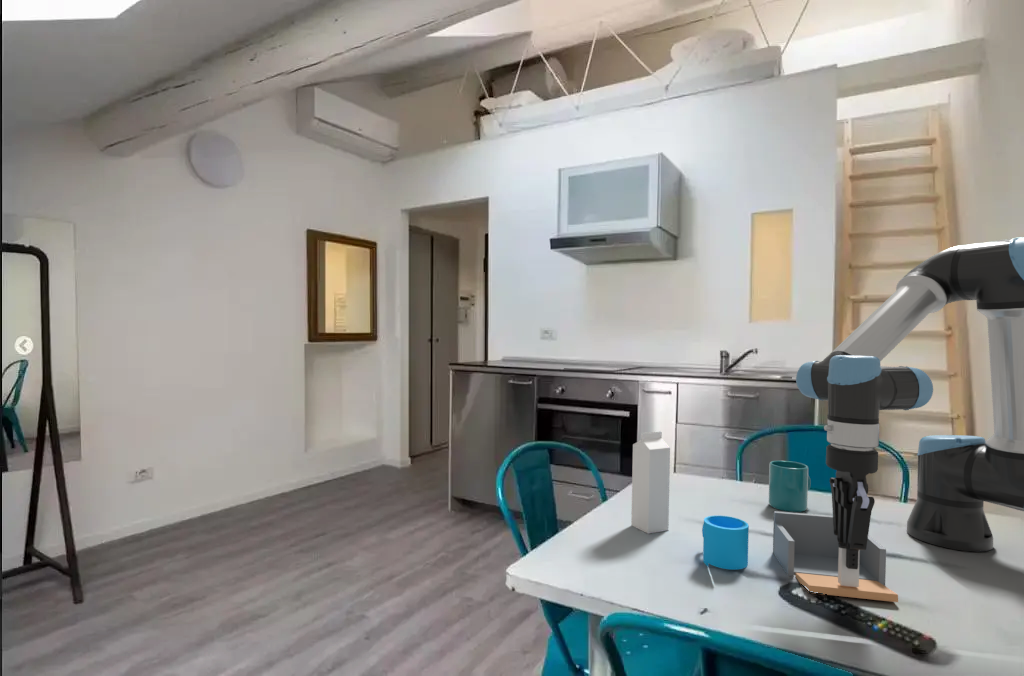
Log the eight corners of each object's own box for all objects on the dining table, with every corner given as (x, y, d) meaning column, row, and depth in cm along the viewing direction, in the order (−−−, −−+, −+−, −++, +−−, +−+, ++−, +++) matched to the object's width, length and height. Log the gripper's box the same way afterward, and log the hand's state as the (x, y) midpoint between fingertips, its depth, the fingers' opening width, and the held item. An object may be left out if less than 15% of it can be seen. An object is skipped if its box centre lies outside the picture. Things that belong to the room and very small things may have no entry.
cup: (823, 509, 143) (825, 466, 143) (788, 514, 139) (789, 469, 139) (794, 499, 152) (795, 458, 151) (760, 503, 147) (761, 461, 147)
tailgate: (876, 580, 99) (897, 594, 91) (877, 587, 99) (898, 602, 91) (795, 572, 102) (809, 585, 94) (795, 579, 102) (809, 592, 94)
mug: (756, 571, 105) (757, 528, 105) (717, 574, 103) (718, 530, 103) (721, 547, 117) (722, 508, 117) (685, 549, 115) (686, 510, 115)
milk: (631, 525, 129) (632, 430, 129) (651, 522, 132) (652, 429, 131) (648, 534, 123) (649, 435, 123) (669, 530, 126) (670, 433, 126)
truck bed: (860, 563, 109) (861, 518, 109) (885, 588, 99) (886, 538, 99) (772, 555, 113) (773, 511, 113) (787, 578, 102) (788, 529, 102)
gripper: (815, 437, 101) (811, 566, 102) (841, 452, 89) (837, 599, 89) (860, 440, 100) (857, 570, 100) (894, 455, 87) (890, 605, 87)
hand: (848, 584), depth 94 cm, fingers closed
